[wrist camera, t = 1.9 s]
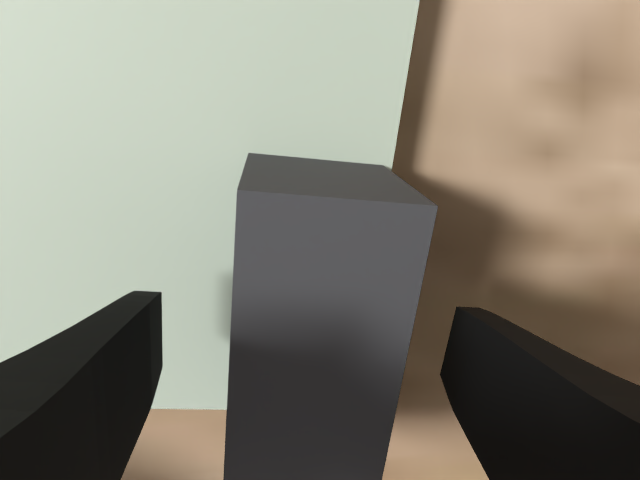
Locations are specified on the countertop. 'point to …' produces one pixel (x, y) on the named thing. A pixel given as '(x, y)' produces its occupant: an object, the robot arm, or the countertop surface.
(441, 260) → the countertop surface
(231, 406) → the tall gray prism
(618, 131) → the countertop surface
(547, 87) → the countertop surface
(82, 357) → the robot arm
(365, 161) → the pale green u-shaped slab
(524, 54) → the countertop surface
